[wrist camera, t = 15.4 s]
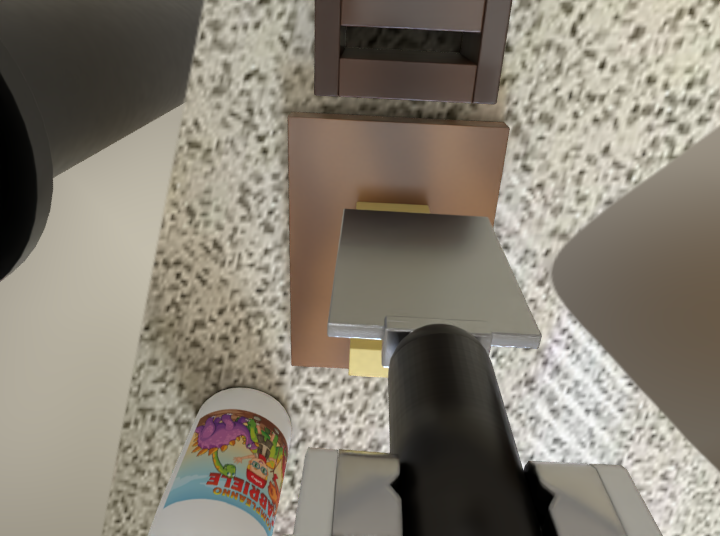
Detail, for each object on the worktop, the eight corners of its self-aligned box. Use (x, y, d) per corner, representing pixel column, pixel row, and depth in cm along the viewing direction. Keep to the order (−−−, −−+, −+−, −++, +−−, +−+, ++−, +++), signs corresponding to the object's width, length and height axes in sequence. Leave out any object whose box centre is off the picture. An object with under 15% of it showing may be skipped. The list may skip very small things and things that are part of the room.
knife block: (324, 78, 32) (314, 95, 27) (325, -17, 30) (314, -20, 24) (476, 86, 32) (496, 104, 27) (489, -9, 30) (514, -10, 24)
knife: (342, 241, 19) (260, 883, 6) (344, 183, 18) (251, 798, 5) (482, 249, 19) (732, 910, 6) (492, 191, 18) (829, 831, 5)
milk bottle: (267, 468, 47) (200, 763, 29) (184, 432, 45) (58, 720, 27) (310, 410, 44) (264, 699, 26) (222, 368, 42) (108, 646, 24)
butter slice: (350, 345, 39) (348, 376, 36) (351, 319, 38) (349, 348, 35) (413, 348, 39) (416, 379, 36) (416, 322, 38) (420, 352, 35)
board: (294, 353, 41) (291, 366, 40) (290, 111, 33) (287, 116, 32) (465, 362, 41) (468, 375, 40) (504, 122, 33) (510, 127, 32)
